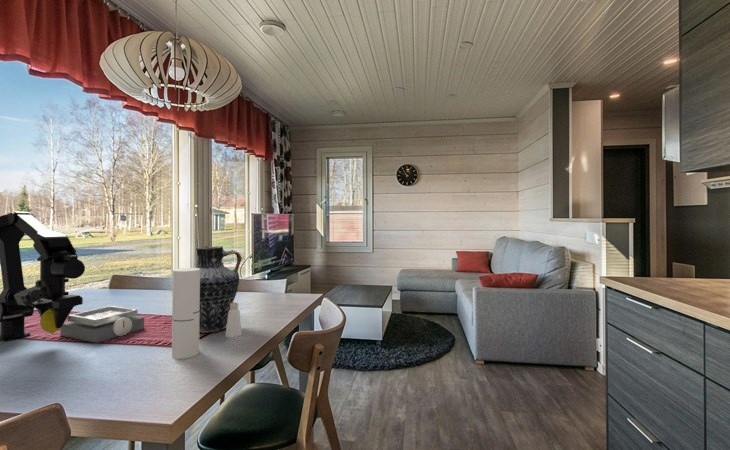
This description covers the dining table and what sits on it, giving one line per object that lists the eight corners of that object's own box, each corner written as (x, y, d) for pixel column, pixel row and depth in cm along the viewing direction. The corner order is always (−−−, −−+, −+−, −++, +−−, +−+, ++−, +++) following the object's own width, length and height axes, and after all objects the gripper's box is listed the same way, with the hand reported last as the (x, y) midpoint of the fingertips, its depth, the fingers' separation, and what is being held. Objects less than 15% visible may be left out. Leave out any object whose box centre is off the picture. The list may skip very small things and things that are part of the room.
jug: (187, 342, 112) (188, 249, 111) (172, 327, 126) (173, 245, 126) (249, 330, 125) (250, 247, 125) (229, 318, 140) (230, 243, 140)
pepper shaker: (244, 332, 122) (245, 301, 122) (237, 338, 117) (237, 305, 117) (230, 332, 123) (230, 301, 123) (222, 337, 117) (222, 304, 117)
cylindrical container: (204, 351, 105) (205, 268, 104) (185, 360, 98) (186, 272, 97) (186, 348, 107) (186, 267, 107) (166, 356, 100) (166, 270, 100)
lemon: (50, 337, 103) (50, 310, 103) (35, 335, 104) (35, 309, 104) (69, 331, 109) (69, 306, 109) (55, 330, 110) (55, 304, 110)
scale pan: (67, 321, 117) (67, 315, 116) (110, 311, 130) (111, 305, 130) (95, 326, 112) (95, 320, 112) (137, 315, 125) (137, 309, 125)
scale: (60, 335, 116) (60, 317, 116) (110, 322, 131) (110, 306, 131) (98, 343, 110) (98, 324, 110) (146, 328, 125) (146, 312, 125)
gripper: (0, 277, 102) (0, 330, 102) (39, 283, 96) (39, 339, 96) (46, 272, 112) (45, 320, 113) (84, 277, 106) (83, 327, 106)
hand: (52, 326), depth 107 cm, fingers closed on lemon, 5 cm apart
